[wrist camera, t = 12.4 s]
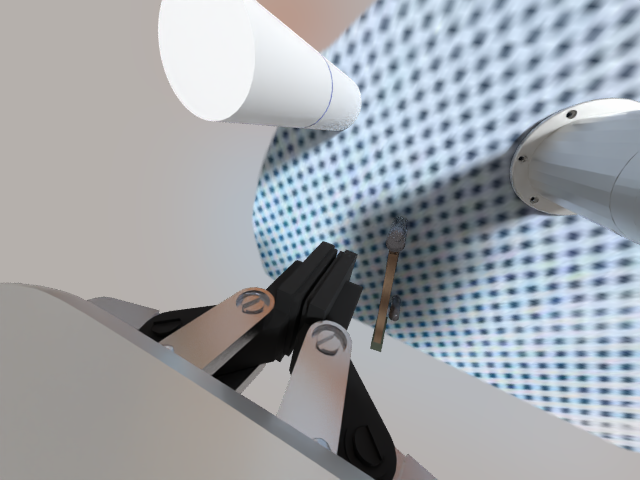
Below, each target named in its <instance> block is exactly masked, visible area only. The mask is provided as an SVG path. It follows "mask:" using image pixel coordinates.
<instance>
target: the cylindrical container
mask: <svg viewBox="0 0 640 480" xmlns="http://www.w3.org/2000/svg"><path fill="white" fill-rule="evenodd" d="M158 37H159V38H158V40H159V47H160V54H161V59H162V62H163V67H164V70H165V73H166V76H167V78H168V81H169V83H170V85H171V87H172V89H173V91H174V93H175V94H176V95H177V97H178V98H179V100H180V101H181V103H182V104H183V105H184V106H185V107H186V108H187V109H188V110H189V111H191V112H192V113H193V114H194V115H196V116H198V117H200V118H202V119H204V120H209V121H216V122H229V123H242V124H255V125H268V126H280V127H293V128H306V129H319V130H331V131H340V130H344V129H346V128H348V127H349V126H351V125H352V124H353V123H354V121H355V120H356V119H357V117H358V115H359V112H360V109H361V94H360V91H359V88H358V86H357V85H356V83H355V82H354V81H353V80H352V79H350V78H349V77H348V76H347V75H346V74H344V73H343V72H342V71H341V70H339V69H338V68H337V67H336V66H335V65H333V64H332V63H331V62H330V61H329V60H327V59H326V58H325V57H324V56H322V55H321V54H320V53H319V52H318V51H316V50H315V49H314V48H313V47H312V46H310V45H309V44H308V43H306V42H305V41H304V40H303V39H302V38H301V37H299V36H298V35H297V34H296V33H295V32H293V31H292V30H291V29H290V28H288V27H287V26H286V25H285V24H284V23H282V22H281V21H280V20H279V19H278V18H276V17H275V16H274V15H273V14H271V13H270V12H269V11H268V10H266V9H265V8H264V7H263V6H262V5H260V4H259V3H258V2H257V1H256V0H162V3H161V8H160V13H159V22H158Z"/></svg>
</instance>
